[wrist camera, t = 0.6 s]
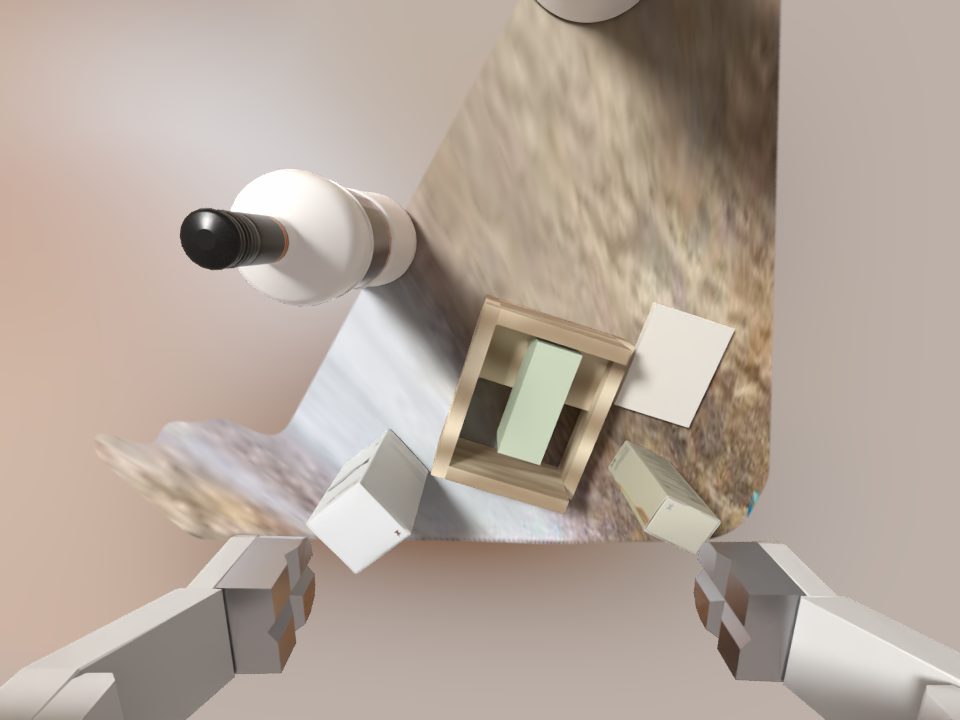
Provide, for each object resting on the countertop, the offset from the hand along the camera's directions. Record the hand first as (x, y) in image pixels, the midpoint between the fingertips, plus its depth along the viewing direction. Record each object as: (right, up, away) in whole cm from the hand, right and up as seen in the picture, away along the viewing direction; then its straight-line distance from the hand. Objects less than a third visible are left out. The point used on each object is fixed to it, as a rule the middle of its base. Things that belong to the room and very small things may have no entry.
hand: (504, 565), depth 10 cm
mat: (+21, +4, +42) cm, 47 cm away
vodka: (-12, +17, +39) cm, 44 cm away
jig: (+5, +1, +43) cm, 43 cm away
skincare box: (+18, -8, +45) cm, 49 cm away
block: (+5, +1, +40) cm, 40 cm away
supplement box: (-12, -8, +46) cm, 48 cm away
